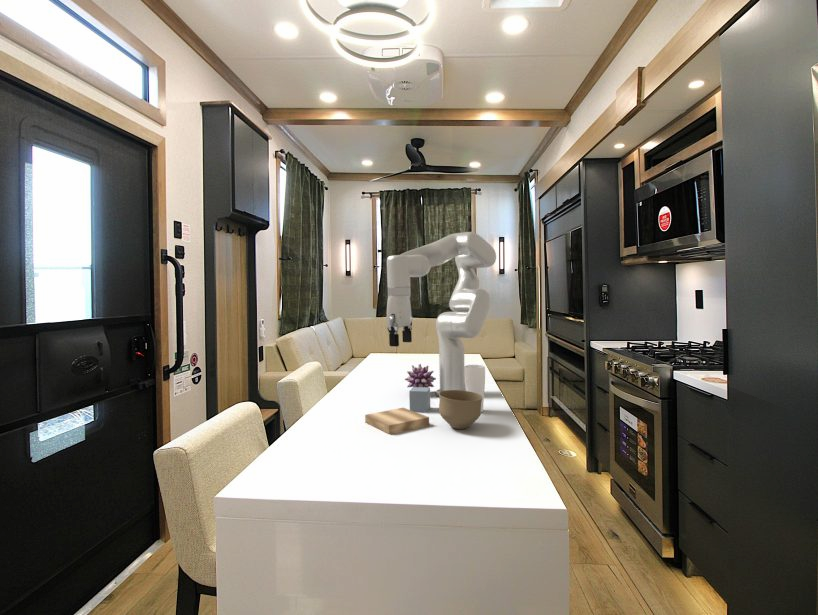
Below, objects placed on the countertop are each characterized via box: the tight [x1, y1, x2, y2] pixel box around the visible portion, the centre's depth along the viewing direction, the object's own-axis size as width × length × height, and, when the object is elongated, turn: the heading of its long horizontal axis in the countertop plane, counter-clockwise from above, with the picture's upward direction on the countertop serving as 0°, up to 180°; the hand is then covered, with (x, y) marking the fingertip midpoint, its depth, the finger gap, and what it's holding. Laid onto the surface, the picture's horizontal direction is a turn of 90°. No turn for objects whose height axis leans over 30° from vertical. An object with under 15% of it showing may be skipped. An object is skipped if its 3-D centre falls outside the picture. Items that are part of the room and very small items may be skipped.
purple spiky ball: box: [404, 363, 437, 388], centre depth 177 cm, size 12×12×12 cm
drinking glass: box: [464, 364, 486, 413], centre depth 151 cm, size 7×7×15 cm
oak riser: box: [364, 407, 430, 435], centre depth 139 cm, size 14×14×3 cm
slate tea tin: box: [408, 387, 431, 413], centre depth 155 cm, size 6×6×7 cm
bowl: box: [438, 390, 482, 430], centre depth 134 cm, size 13×13×10 cm
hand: (400, 344), depth 153 cm, fingers open, 9 cm apart
